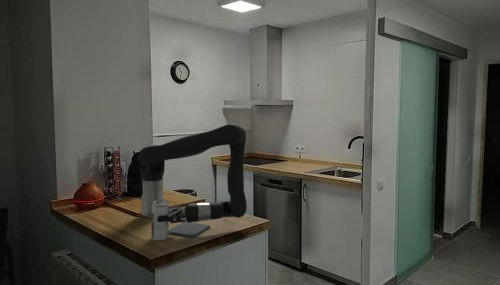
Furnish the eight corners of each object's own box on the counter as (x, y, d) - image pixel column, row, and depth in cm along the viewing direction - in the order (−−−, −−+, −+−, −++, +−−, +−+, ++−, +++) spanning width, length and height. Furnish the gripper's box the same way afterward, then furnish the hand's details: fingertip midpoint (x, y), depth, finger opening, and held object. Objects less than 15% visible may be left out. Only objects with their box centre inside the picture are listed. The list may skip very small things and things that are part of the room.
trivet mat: (166, 233, 141) (166, 230, 141) (184, 223, 153) (184, 221, 153) (193, 238, 136) (193, 235, 136) (210, 227, 148) (210, 225, 148)
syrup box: (154, 235, 138) (153, 200, 137) (169, 235, 139) (168, 199, 137) (151, 240, 133) (150, 204, 131) (166, 240, 133) (166, 203, 132)
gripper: (194, 198, 146) (155, 201, 141) (201, 208, 133) (157, 211, 127) (194, 215, 147) (155, 219, 141) (201, 226, 133) (158, 231, 128)
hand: (156, 215), depth 134 cm, fingers open, 8 cm apart
